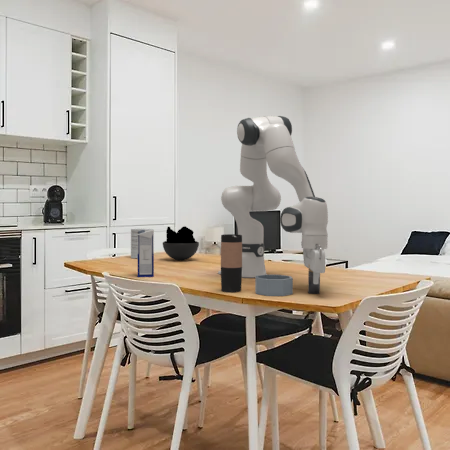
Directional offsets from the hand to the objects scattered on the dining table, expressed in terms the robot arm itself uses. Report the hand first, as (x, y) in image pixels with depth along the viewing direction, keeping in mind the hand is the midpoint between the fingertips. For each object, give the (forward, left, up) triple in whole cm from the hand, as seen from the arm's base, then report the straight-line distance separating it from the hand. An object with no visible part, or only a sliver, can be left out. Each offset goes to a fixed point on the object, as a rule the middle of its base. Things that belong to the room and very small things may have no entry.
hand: (314, 282), depth 173 cm
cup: (-10, -10, -4) cm, 15 cm away
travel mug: (-23, -18, -4) cm, 29 cm away
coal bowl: (-110, +30, -4) cm, 114 cm away
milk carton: (-74, -19, -4) cm, 76 cm away
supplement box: (-134, +21, -4) cm, 136 cm away
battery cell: (0, 0, -4) cm, 4 cm away
